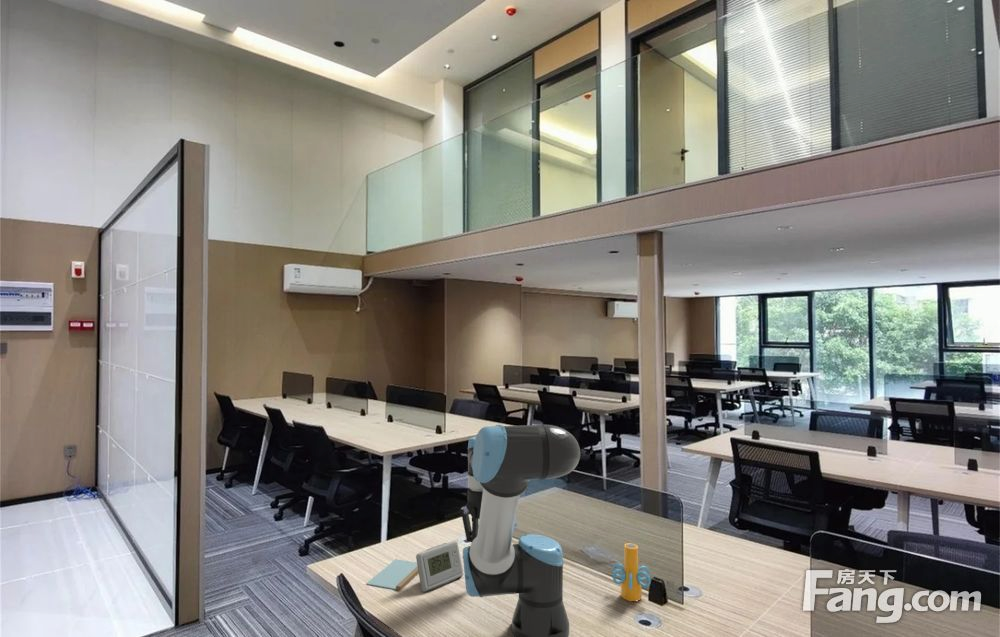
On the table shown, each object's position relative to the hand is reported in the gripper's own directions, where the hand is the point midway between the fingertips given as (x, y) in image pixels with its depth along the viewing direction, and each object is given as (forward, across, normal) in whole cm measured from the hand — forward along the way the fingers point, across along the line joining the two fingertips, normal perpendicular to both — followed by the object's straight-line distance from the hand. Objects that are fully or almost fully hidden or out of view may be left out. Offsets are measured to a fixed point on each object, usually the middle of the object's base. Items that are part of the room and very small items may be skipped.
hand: (478, 564), depth 151 cm
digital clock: (+7, +13, 0) cm, 15 cm away
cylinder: (+7, -45, -10) cm, 47 cm away
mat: (+7, +28, 0) cm, 29 cm away
